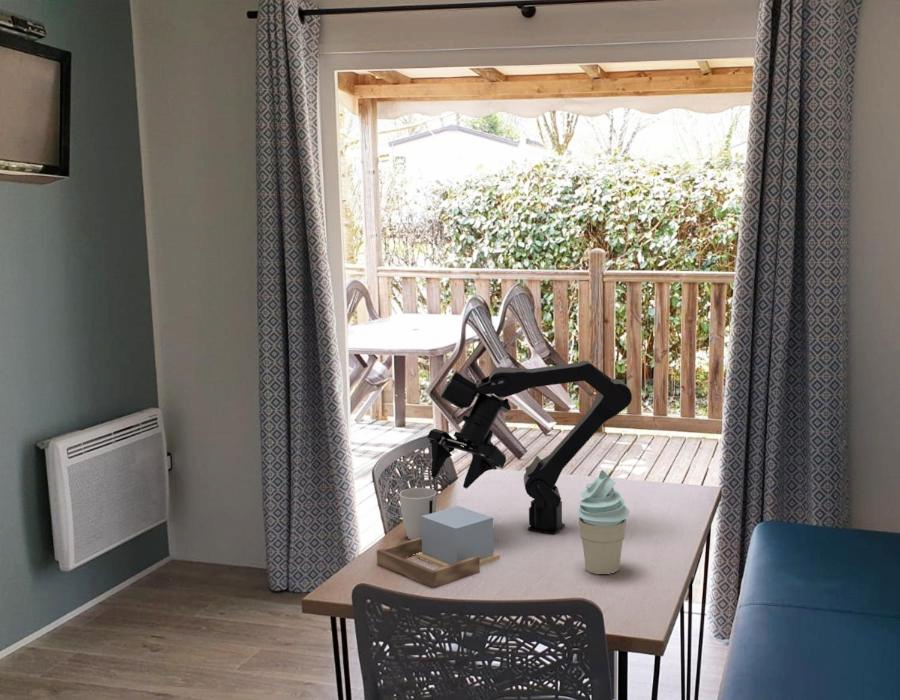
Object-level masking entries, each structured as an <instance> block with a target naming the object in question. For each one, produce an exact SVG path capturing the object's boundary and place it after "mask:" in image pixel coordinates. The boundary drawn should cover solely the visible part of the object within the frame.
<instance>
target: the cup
mask: <svg viewBox="0 0 900 700" xmlns="http://www.w3.org/2000/svg"><path fill="white" fill-rule="evenodd" d="M437 494H438V493H437V490H435V489H432V488H429V487H412V488H406V489H403V490H401V491H400V492H399V494H398V495H399V503H400V513H401V517H402V524H403V527H404V531H405V534H406V536H407V538H408V539H409V538H410V539H412V540H413V539H416V538H419V537H422V533H421V516H424V515H427V514H431V513H435V512H437ZM410 539H409V540H410Z"/></svg>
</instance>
